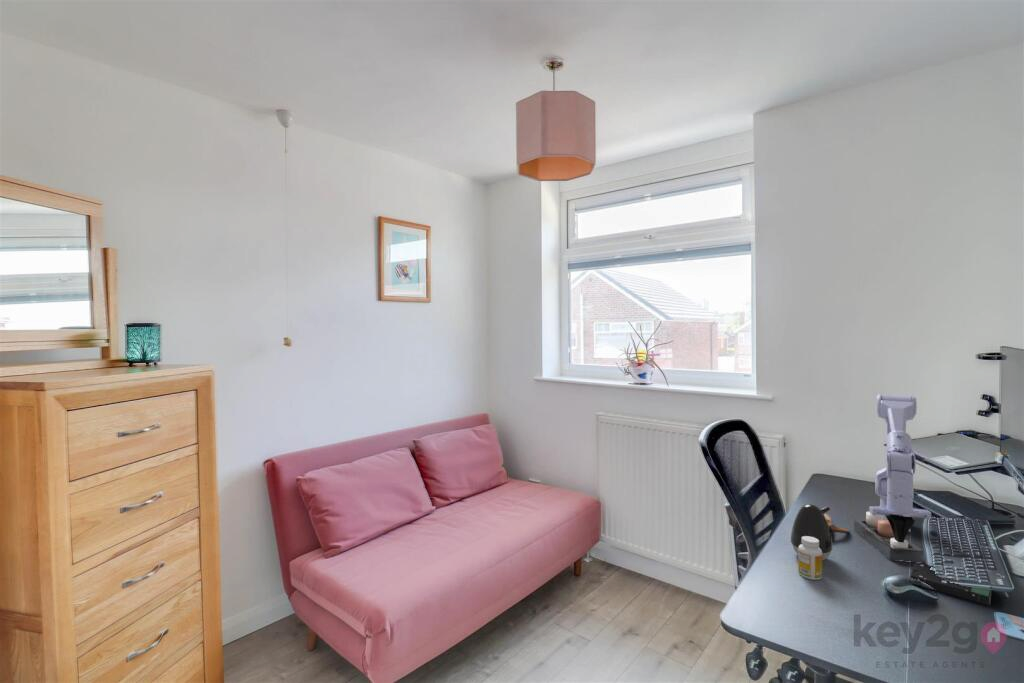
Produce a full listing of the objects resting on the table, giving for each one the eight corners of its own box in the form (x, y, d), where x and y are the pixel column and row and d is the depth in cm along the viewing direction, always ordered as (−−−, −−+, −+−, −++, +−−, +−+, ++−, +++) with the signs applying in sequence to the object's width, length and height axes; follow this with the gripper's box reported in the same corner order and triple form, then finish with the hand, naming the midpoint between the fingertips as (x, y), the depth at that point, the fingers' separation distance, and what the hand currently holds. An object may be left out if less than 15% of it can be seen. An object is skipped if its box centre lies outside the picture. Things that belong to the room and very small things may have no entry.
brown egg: (874, 532, 148) (875, 519, 148) (889, 533, 147) (890, 520, 147) (881, 537, 144) (882, 524, 144) (897, 538, 144) (897, 525, 143)
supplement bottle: (818, 572, 131) (819, 536, 130) (824, 581, 126) (824, 544, 125) (796, 568, 132) (796, 533, 132) (800, 578, 127) (801, 541, 127)
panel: (854, 530, 157) (854, 519, 157) (882, 532, 155) (882, 521, 155) (889, 560, 137) (890, 548, 137) (922, 563, 135) (922, 550, 135)
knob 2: (887, 550, 142) (887, 537, 141) (903, 552, 141) (903, 538, 141) (894, 557, 138) (895, 543, 138) (911, 558, 137) (911, 544, 137)
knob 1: (863, 523, 155) (863, 510, 155) (877, 524, 154) (877, 511, 154) (869, 528, 151) (870, 515, 151) (884, 529, 150) (884, 516, 150)
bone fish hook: (849, 548, 146) (848, 526, 161) (850, 533, 145) (849, 512, 160) (813, 540, 151) (815, 519, 166) (813, 525, 151) (816, 506, 166)
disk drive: (910, 586, 124) (991, 608, 114) (910, 575, 124) (991, 596, 114) (914, 571, 132) (991, 591, 121) (914, 561, 132) (991, 580, 121)
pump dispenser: (842, 565, 134) (842, 510, 134) (806, 566, 134) (806, 511, 133) (816, 548, 144) (816, 497, 144) (782, 549, 144) (783, 498, 143)
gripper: (878, 497, 136) (877, 544, 137) (938, 500, 133) (937, 549, 134) (865, 488, 143) (865, 534, 144) (922, 492, 140) (921, 538, 141)
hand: (899, 541), depth 139 cm, fingers closed, pressing on knob 2
